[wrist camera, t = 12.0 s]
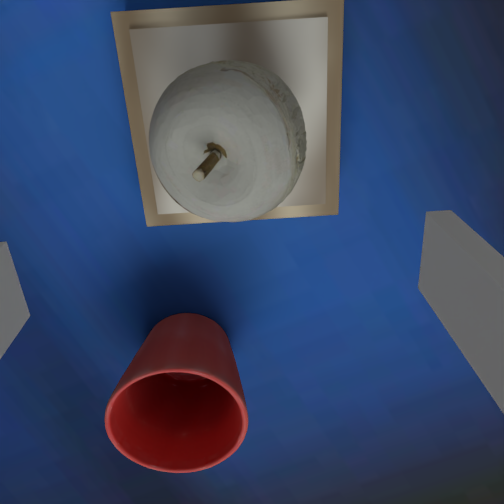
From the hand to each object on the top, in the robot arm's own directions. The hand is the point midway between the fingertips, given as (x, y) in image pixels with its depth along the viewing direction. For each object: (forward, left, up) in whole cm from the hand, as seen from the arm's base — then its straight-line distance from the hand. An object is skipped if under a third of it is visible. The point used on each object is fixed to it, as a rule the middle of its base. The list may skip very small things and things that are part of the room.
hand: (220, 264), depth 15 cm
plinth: (0, +1, -23) cm, 23 cm away
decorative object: (0, +1, -19) cm, 19 cm away
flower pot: (-6, -20, -23) cm, 31 cm away
